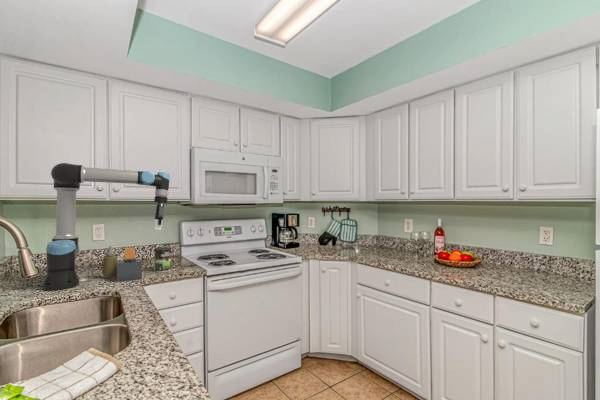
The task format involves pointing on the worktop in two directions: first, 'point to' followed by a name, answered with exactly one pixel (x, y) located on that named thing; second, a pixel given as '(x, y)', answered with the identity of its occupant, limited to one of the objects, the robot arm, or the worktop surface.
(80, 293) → the worktop surface
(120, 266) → the switch box
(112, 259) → the squeeze bottle
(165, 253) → the coffee can
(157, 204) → the robot arm
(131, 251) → the breaker handle
